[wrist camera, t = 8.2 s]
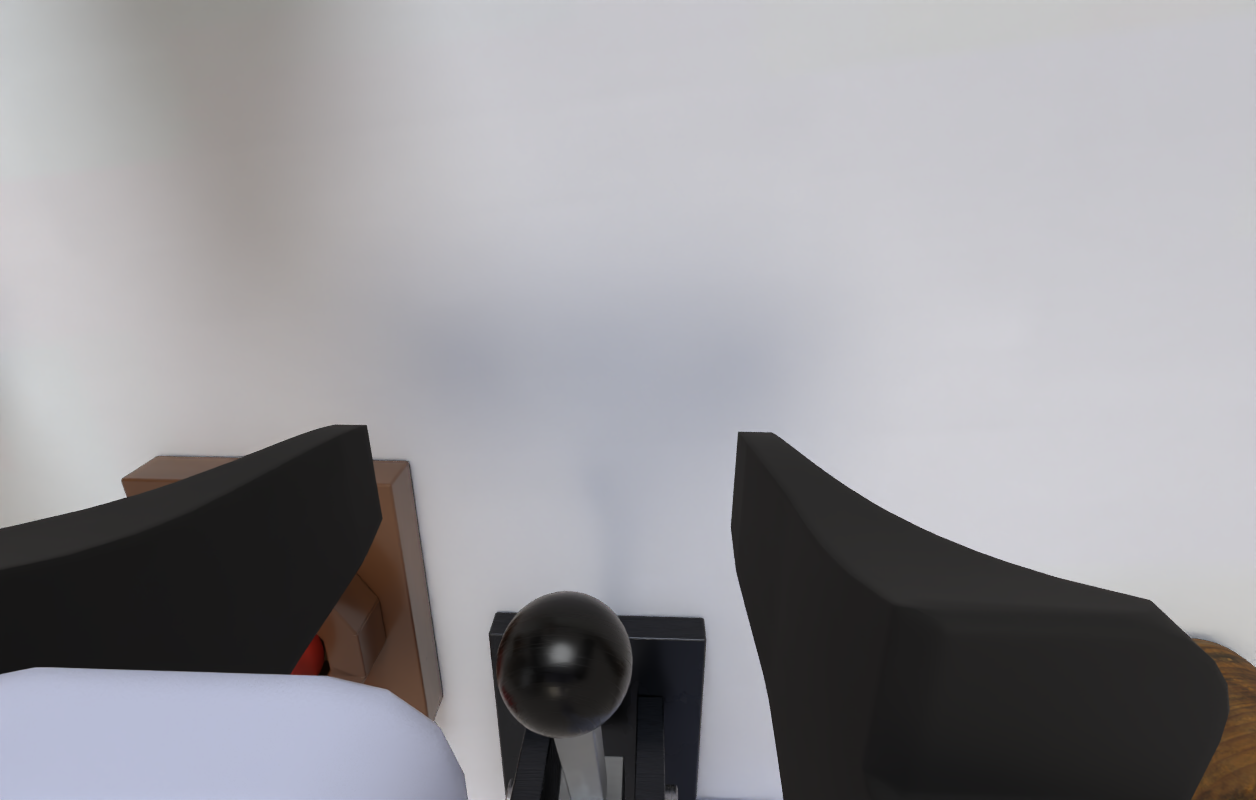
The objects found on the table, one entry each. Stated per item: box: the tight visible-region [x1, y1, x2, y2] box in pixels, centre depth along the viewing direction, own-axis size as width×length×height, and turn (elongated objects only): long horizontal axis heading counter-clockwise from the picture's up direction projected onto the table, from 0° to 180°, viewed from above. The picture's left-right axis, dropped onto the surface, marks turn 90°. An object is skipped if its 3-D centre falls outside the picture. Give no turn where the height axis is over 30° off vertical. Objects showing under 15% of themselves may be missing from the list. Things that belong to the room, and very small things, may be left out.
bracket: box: [489, 612, 706, 800], centre depth 24 cm, size 10×8×6 cm
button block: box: [121, 456, 443, 721], centre depth 23 cm, size 11×9×4 cm
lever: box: [496, 591, 633, 800], centre depth 18 cm, size 15×3×3 cm, turn 0°
